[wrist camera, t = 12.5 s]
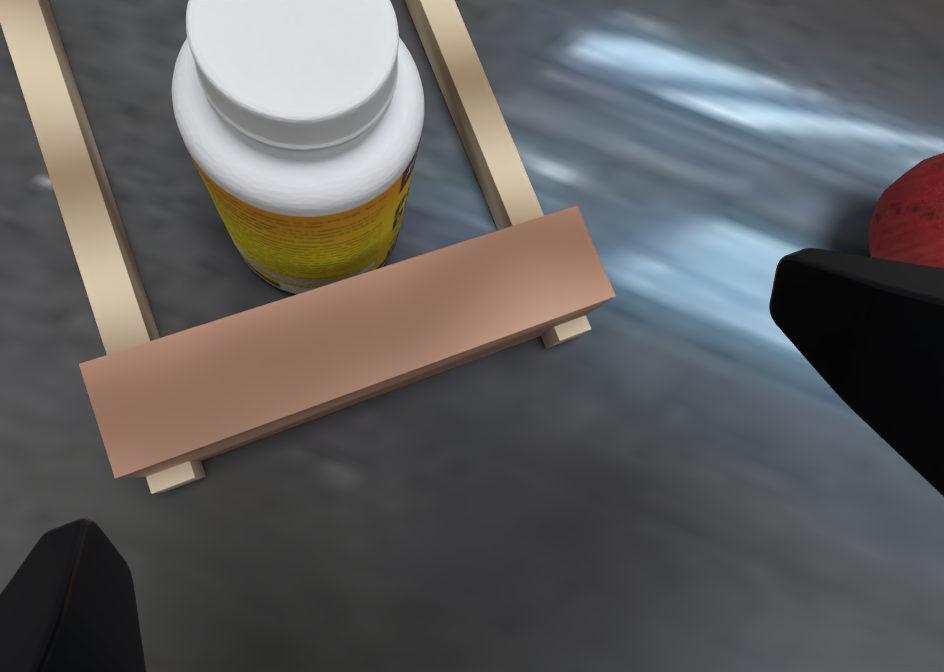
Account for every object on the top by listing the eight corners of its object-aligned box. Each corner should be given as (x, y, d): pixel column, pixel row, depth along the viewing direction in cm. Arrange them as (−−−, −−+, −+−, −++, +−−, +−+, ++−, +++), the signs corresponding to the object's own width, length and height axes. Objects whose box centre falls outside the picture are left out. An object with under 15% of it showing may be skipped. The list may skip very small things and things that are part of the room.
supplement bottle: (411, 289, 22) (464, 148, 12) (243, 312, 21) (151, 174, 11) (385, 140, 23) (414, -103, 13) (222, 153, 22) (120, -104, 12)
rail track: (575, 337, 23) (622, 311, 19) (166, 492, 19) (120, 498, 16) (399, -91, 25) (408, -192, 21) (0, -21, 21) (-75, -127, 18)
